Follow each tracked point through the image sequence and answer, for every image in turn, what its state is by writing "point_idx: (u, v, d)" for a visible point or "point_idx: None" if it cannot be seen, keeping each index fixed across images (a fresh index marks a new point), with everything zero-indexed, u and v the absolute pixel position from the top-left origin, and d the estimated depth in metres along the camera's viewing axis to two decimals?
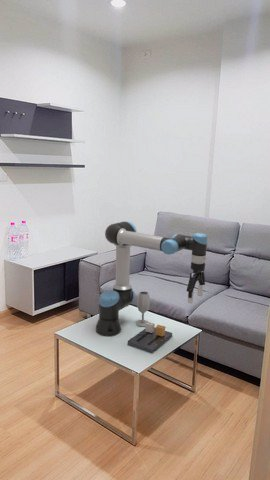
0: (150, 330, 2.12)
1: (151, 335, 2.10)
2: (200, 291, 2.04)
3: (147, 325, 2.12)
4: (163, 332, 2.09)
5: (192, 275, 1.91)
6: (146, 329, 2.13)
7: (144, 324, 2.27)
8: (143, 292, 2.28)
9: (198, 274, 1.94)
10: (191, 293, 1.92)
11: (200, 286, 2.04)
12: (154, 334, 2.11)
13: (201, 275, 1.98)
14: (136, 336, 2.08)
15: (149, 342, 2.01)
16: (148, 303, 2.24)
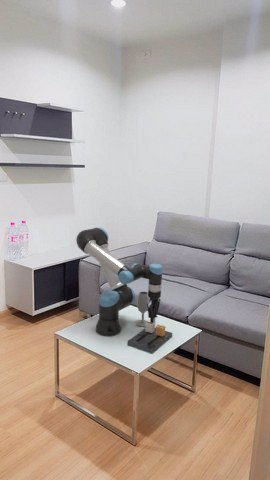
0: (150, 330, 2.12)
1: (151, 335, 2.10)
2: None
3: (147, 325, 2.12)
4: (163, 332, 2.09)
5: (149, 306, 2.08)
6: (146, 329, 2.13)
7: (144, 324, 2.27)
8: (143, 292, 2.28)
9: (154, 302, 2.11)
10: (153, 319, 2.14)
11: None
12: (154, 334, 2.11)
13: (157, 303, 2.14)
14: (136, 336, 2.08)
15: (149, 342, 2.01)
16: (148, 303, 2.24)
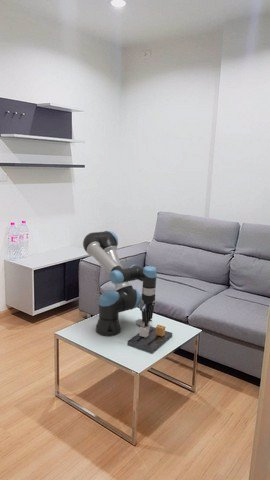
0: (144, 334, 2.06)
1: (151, 335, 2.10)
2: None
3: (141, 329, 2.07)
4: (163, 332, 2.09)
5: (143, 310, 2.03)
6: (140, 333, 2.08)
7: None
8: None
9: (148, 306, 2.05)
10: (147, 323, 2.08)
11: None
12: (154, 334, 2.11)
13: (151, 306, 2.08)
14: (136, 336, 2.08)
15: (149, 342, 2.01)
16: None
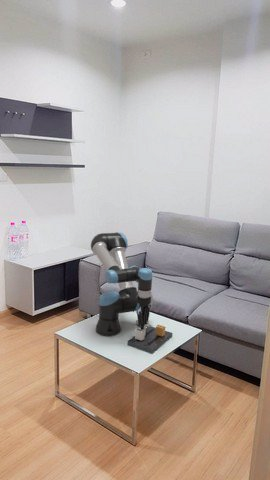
0: (140, 337, 2.02)
1: (151, 335, 2.10)
2: None
3: (137, 332, 2.03)
4: (163, 332, 2.09)
5: (138, 313, 1.99)
6: (136, 336, 2.04)
7: None
8: None
9: (144, 308, 2.01)
10: (143, 326, 2.05)
11: None
12: (154, 334, 2.11)
13: (147, 309, 2.04)
14: None
15: (149, 342, 2.01)
16: (151, 303, 2.24)
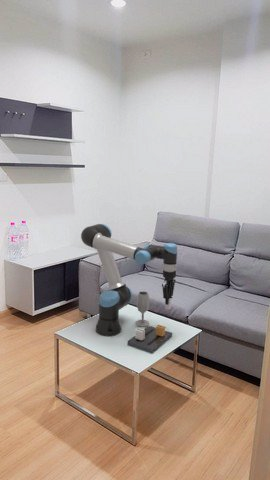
0: (140, 337, 2.03)
1: (151, 335, 2.10)
2: None
3: (137, 332, 2.03)
4: (163, 332, 2.09)
5: (164, 286, 2.05)
6: (136, 336, 2.04)
7: (144, 324, 2.27)
8: (142, 292, 2.27)
9: (169, 282, 2.07)
10: (168, 300, 2.11)
11: None
12: (154, 334, 2.11)
13: (172, 283, 2.10)
14: None
15: (149, 342, 2.01)
16: (148, 303, 2.24)
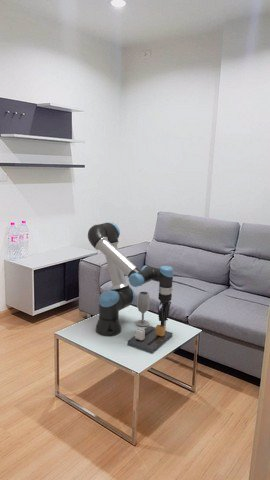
0: (140, 337, 2.03)
1: (151, 335, 2.10)
2: None
3: (137, 332, 2.03)
4: (163, 332, 2.09)
5: (159, 309, 2.05)
6: (136, 336, 2.04)
7: (144, 324, 2.27)
8: (143, 292, 2.28)
9: (165, 305, 2.07)
10: (163, 322, 2.10)
11: None
12: (154, 334, 2.11)
13: (167, 305, 2.10)
14: None
15: (149, 342, 2.01)
16: (148, 303, 2.24)
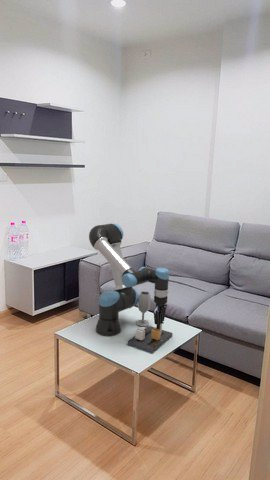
0: (140, 337, 2.03)
1: None
2: (159, 329, 2.08)
3: (137, 332, 2.03)
4: (159, 336, 2.04)
5: (155, 312, 2.00)
6: (136, 336, 2.04)
7: (144, 324, 2.27)
8: (144, 292, 2.28)
9: (161, 308, 2.03)
10: (159, 325, 2.06)
11: None
12: None
13: (163, 308, 2.05)
14: None
15: (149, 342, 2.01)
16: (149, 303, 2.24)
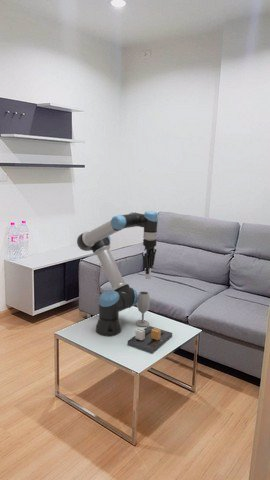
0: (140, 337, 2.03)
1: None
2: None
3: (137, 332, 2.03)
4: (158, 336, 2.04)
5: (144, 255, 2.02)
6: (136, 336, 2.04)
7: (144, 324, 2.27)
8: (143, 292, 2.28)
9: (149, 251, 2.04)
10: (148, 269, 2.07)
11: None
12: None
13: (152, 252, 2.07)
14: None
15: (149, 342, 2.01)
16: (148, 303, 2.24)
